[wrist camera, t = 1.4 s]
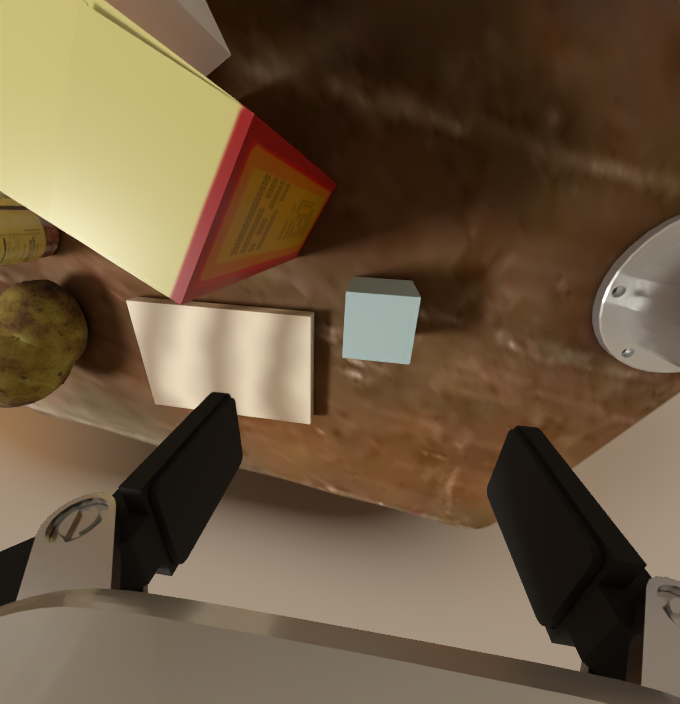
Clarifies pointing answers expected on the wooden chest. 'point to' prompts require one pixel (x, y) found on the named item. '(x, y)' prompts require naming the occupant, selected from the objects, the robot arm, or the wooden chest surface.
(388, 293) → the teal block
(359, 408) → the wooden chest surface
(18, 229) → the sauce bottle
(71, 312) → the potato
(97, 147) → the baking soda box
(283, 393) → the birch board
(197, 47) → the milk
